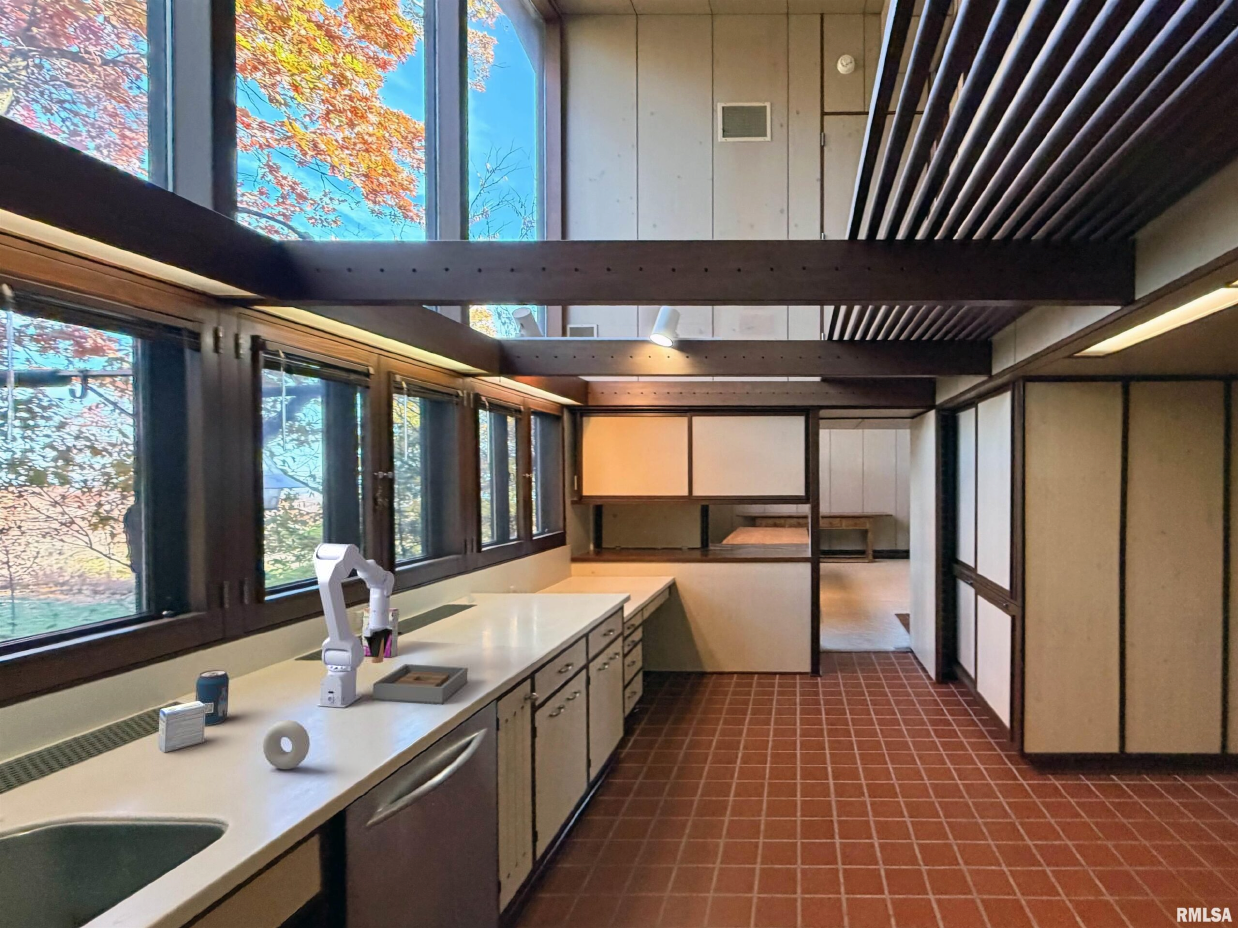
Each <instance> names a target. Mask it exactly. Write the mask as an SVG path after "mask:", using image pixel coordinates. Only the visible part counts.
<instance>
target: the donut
mask: <svg viewBox="0 0 1238 928" xmlns="http://www.w3.org/2000/svg"><path fill="white" fill-rule="evenodd" d="M283 738H287V739H288V740H289V742H291V743H290V744H291V750H290V751H286V750H284V748H283V747H282V746H283V745H282V739H283ZM310 746H311V744H310V736H309V733H308V731H307V730H306V729H305V727H304V726H303V725H302V724H301V723H299V722H298V721H294V720H290V719H285V720H280V721H278V722H276V723H274V724H273V725H271V727H270V728H269V729H267V731H266V733H265V735H264V738H263V741H262V750H263V752H262V753H263V754H264V757H265V759H266V760H267V762H268V763H269V764H270V765H272V766H273V767H274V768H276V769H280V770H290V769H293V768H295V767H297V766H299V765H301V763H302V762H304V761H305V759H306V758H307V755H308V754H309V751H310Z"/></svg>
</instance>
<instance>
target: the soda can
mask: <svg viewBox="0 0 1238 928" xmlns="http://www.w3.org/2000/svg"><path fill="white" fill-rule="evenodd" d="M195 683H196V684H195V701H200V702H201V703H203V704H204V705H205V706H206V710H205V725H207V726H212V725H213V724H214V725H218V724H220V723H222V722H223V721H224V720H225V719H226V717H227V715H228V709H229V686H230V684H229V683H230V677H229V675H228V673H227V670H225V669H212V670H205V671H202V672H200V673H199V677H198V678H197V680H196V682H195ZM195 701H194V702H195Z"/></svg>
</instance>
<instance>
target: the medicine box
mask: <svg viewBox="0 0 1238 928" xmlns="http://www.w3.org/2000/svg"><path fill="white" fill-rule="evenodd" d="M205 710H206V706H205V705H204V704H203V703H201V702H200V701H192V702H187V703H181V704H176V705H173V706H169V707H164V708H161V709H160V710H159V719H158V720H159V721H158V722H159V723H158V742H157V743H158V745H157V746H158V748H159V749H160V750H161V751H162V752H163V753H167V752H171V751H174V750H175V751H176V750H178V749H183V748H186V747H189V746H193V745H197V744H201V743H204V742H205V729H206V727H205Z"/></svg>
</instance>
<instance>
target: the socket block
mask: <svg viewBox="0 0 1238 928" xmlns="http://www.w3.org/2000/svg"><path fill="white" fill-rule="evenodd" d="M448 680H450V674H445V673H429V672H413V671H412V672H410V673H409V674H407V675H406V676H404V677H403V678H401V679H400V680H398V681H397V682H395V683H394V684H403V685H419V686H434V687H441V686H442V685H443V684H445V683H446V682H447V681H448Z"/></svg>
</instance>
